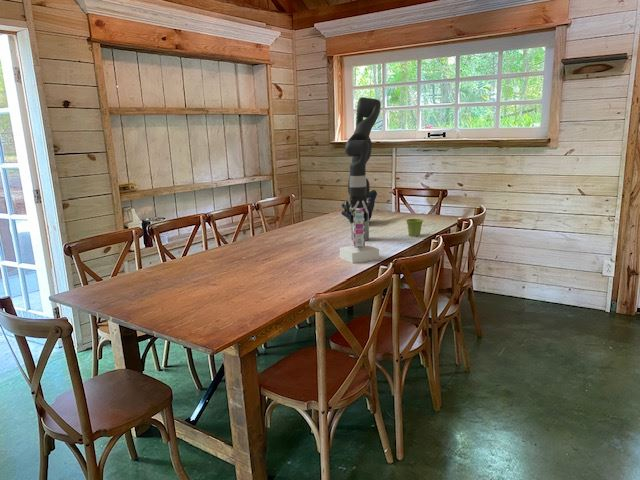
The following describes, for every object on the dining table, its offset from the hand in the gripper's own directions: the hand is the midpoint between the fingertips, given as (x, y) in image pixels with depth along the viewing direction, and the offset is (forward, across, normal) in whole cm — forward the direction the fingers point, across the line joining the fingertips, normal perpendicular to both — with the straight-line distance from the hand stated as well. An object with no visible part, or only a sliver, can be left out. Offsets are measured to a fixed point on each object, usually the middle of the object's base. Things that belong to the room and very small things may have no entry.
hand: (358, 221), depth 215 cm
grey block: (+17, 0, 0) cm, 17 cm away
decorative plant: (+18, -44, -76) cm, 89 cm away
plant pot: (+17, -50, -25) cm, 58 cm away
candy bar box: (+11, 0, 0) cm, 11 cm away
